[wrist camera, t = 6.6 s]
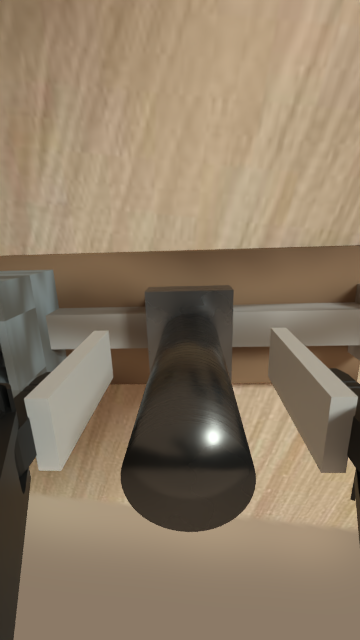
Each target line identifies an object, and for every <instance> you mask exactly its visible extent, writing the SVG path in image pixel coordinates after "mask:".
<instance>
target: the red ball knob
mask: <svg viewBox="0 0 360 640" xmlns="http://www.w3.org/2000/svg"><path fill="white" fill-rule="evenodd" d="M2 359H3V356H2V351H1V349H0V365H1V363H2Z"/></svg>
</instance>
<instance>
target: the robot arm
mask: <svg viewBox="0 0 360 640" xmlns="http://www.w3.org/2000/svg"><path fill="white" fill-rule="evenodd" d="M268 377H269V379H270V381H271V382H272V384H273V386H274V388H275V390H276V391H277V393H278V395H279V397H280V399H281V400H282V402H283V404H284V406H285V408H286V410H287V411H288V413H289V415H290V417H291V419H292V420H293V422H294V424H295V426H296V428H297V430H298V431H299V433H300V435H301V437H302V439H303V440H304V442H305V444H306V446H307V448H308V450H309V451H310V453H311V455H312V457H313V459H314V460H315V462H316V464H317V466H318V468H319V469H320V471H321V473H346V467H347V461H348V457H349V459H350V460H351V461H352V463H353V464H354V466H355V467H356V472H355V477H354V483H353V488H352V494H351V500H354V501H355V498H356V508H357V519H358V531H359V541H360V384H359V383H358V382H356V381H355V380H354V379H353V378H352V377H351V376H350V375H349V374H347V373H345V372H343V371H341V370H339V369H337V368H328V367H326V366H325V365H324V364H323V363H322V362H321V361H320V360H319V359H318V358H317V357H316V356H315V355H314V354H313V353H312V352H311V351H310V350H309V349H308V348H307V347H306V346H305V345H304V344H302V343H301V342H300V341H299V340H298V339H297V338H296V337H295V336H294V335H293V334H292V333H291V332H290V331H289V330H288V329H287V328H271V335H270V351H269V366H268ZM112 379H113V369H112V360H111V350H110V341H109V331H93V332H92V333H91V334H90V335H89V336H88V337H87V338H86V339H85V340H84V341H83V342H82V343H81V344H80V345H79V346H78V347H77V348H76V349H75V350H74V351H73V352H72V353H71V354H70V355H69V356H68V357H67V358H66V359H64V360H63V361H62V362H61V363H60V364H59V365H58V366H57V367H56V368H55V369H54V370H53V371H52V372H46V373H44V374H42V375H40V376H38V377H36V378H35V379H34V380H33V381H32V382H31V383H30V384H29V386H26V387H25V388H24V389H23V391H21V392H20V393H19V394H17V395H16V396H15V397H14V398H13V394H12V389H11V385H10V384H8V383H0V640H13V638H14V629H15V619H16V609H17V601H18V592H19V583H20V573H21V564H22V555H23V545H24V536H25V526H26V518H27V509H28V500H29V490H30V481H31V476H30V471H29V466H30V464H31V463H32V461H33V460H34V458H35V457H36V459H37V464H38V469H39V471H61V470H62V469H63V467H64V465H65V463H66V461H67V460H68V458H69V456H70V454H71V452H72V451H73V449H74V447H75V445H76V443H77V442H78V440H79V438H80V436H81V434H82V433H83V431H84V429H85V427H86V425H87V424H88V422H89V420H90V418H91V416H92V415H93V413H94V411H95V409H96V407H97V406H98V404H99V402H100V400H101V398H102V397H103V395H104V393H105V391H106V389H107V388H108V386H109V384H110V382H111V381H112Z"/></svg>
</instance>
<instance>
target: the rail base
mask: <svg viewBox="0 0 360 640" xmlns="http://www.w3.org/2000/svg"><path fill="white" fill-rule="evenodd" d="M212 285H230V286H231V287H232V289H233V290H234V296H233V339H232V382H231V383H272V382H271V381H270V379H269V377H268V366H269V351H270V335H271V328H287V329H288V330H289V331H290V332H291V333H292V334H293V335H294V336H295V337H296V338H297V339H298V340H299V341H300V342H301V343H302V344H304V345H305V346H306V347H307V348H308V349H309V350H310V351H311V352H312V353H313V354H314V355H315V356H316V357H317V358H318V359H319V360H320V361H321V362H322V363H323V364H324V365H325V366H326V367H328V368H337V369H339V370H341V371H343V372H345V373H347V374H349V375H350V376H351V377H352V378H353V379H354V380H355V381H356V382H357V377H358V371H359V365H360V245H356V246H321V247H287V248H253V249H218V250H184V251H150V252H115V253H81V254H47V255H12V256H0V349H1V351H2V356H3V359H2V363H1V365H0V383H8V384H10V385H11V389H12V394H13V398H14V397H15V396H16V395H17V394H19V393H20V392H21V391H23V389H24V388H25V387H26V386H29V384H30V383H31V382H32V381H33V380H34V379H35V378H36V377H38V376H40V375H42V374H44V373H46V372H52V371H53V370H54V369H55V368H56V367H57V366H58V365H59V364H60V363H61V362H62V361H63V360H64V359H66V358H67V357H68V356H69V355H70V354H71V353H72V352H73V351H74V350H75V349H76V348H77V347H78V346H79V345H80V344H81V343H82V342H83V341H84V340H85V339H86V338H87V337H88V336H89V335H90V334H91V333H92V332H93V331H109V341H110V350H111V360H112V369H113V379H112V381H111V382H110V384H147V382H148V378H149V375H150V369H149V353H148V338H147V323H146V308H145V293H144V292H145V291H146V290H147V289H148V287H170V286H212Z"/></svg>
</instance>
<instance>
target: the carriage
mask: <svg viewBox="0 0 360 640" xmlns="http://www.w3.org/2000/svg"><path fill="white" fill-rule="evenodd" d="M144 293H145V308H146V323H147V338H148V353H149V369H150V375H149V378H148V382H147V385H146V388H145V392H144V395H143V398H142V401H141V405H140V408H139V411H138V415H137V418H136V421H135V425H134V428H133V431H132V434H131V438H130V441H129V444H128V448H127V451H126V454H125V457H124V461H123V464H122V468H121V484H122V488H123V491H124V494H125V496H126V498H127V500H128V501H129V503H130V504H131V505H132V507H133V508H134V509H135V510H136V511H137V512H138V513H139V514H141V515H142V516H143V517H144V518H146V519H147V520H149V521H150V522H152V523H155V524H156V525H159V526H161V527H164V528H167V529H171V530H176V531H185V532H198V531H205V530H210V529H214V528H216V527H219V526H222V525H224V524H226V523H228V522H230V521H231V520H233V519H234V518H236V517H237V516H238V515H239V514H240V513H241V512H242V511H243V510H244V509H245V508H246V506H247V505H248V504H249V502H250V500H251V498H252V496H253V493H254V490H255V484H256V474H255V469H254V465H253V461H252V457H251V454H250V450H249V446H248V443H247V439H246V435H245V432H244V428H243V424H242V421H241V417H240V413H239V410H238V406H237V402H236V399H235V395H234V391H233V388H232V384H231V382H232V339H233V296H234V290H233V289H232V287H231V286H230V285H212V286H170V287H148V289H147V290H146V291H145V292H144Z"/></svg>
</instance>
